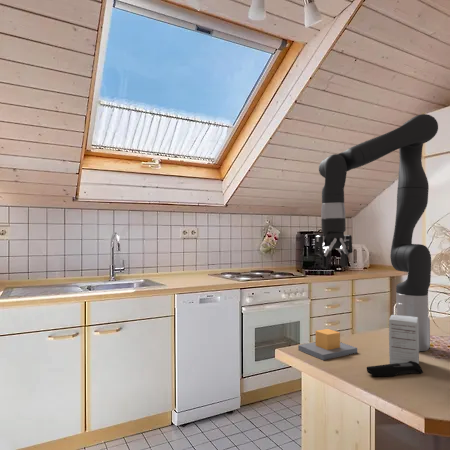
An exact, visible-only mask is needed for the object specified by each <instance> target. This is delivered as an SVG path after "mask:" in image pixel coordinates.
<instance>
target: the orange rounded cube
mask: <svg viewBox="0 0 450 450" xmlns="http://www.w3.org/2000/svg"><path fill="white" fill-rule="evenodd" d="M314 332H315V342H316V346H318V347H321V348H323V349H326V350H330V349H335V348H340V342H341V332H339V331H336V330H334V329H330V328H325V329H318V330H315V331H314Z"/></svg>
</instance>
